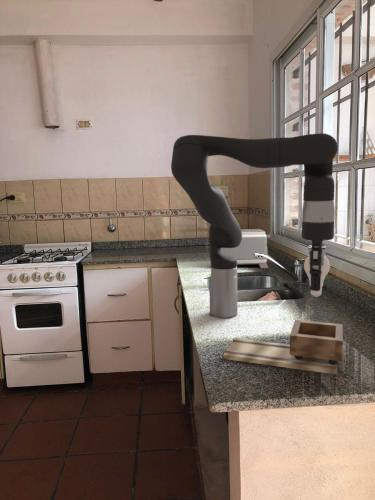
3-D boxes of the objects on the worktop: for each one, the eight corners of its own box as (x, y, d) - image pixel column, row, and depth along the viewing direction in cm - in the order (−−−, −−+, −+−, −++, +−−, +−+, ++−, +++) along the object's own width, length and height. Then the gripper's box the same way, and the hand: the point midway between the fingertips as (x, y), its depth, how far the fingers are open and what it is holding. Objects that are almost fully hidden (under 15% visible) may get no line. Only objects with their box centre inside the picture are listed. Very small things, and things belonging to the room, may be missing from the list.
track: (223, 358, 102) (223, 353, 102) (234, 342, 113) (234, 336, 113) (337, 374, 92) (337, 368, 92) (337, 354, 103) (337, 348, 103)
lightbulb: (312, 301, 93) (313, 256, 91) (298, 294, 99) (299, 252, 97) (334, 298, 95) (335, 254, 93) (319, 292, 100) (320, 250, 99)
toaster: (273, 267, 218) (274, 231, 215) (213, 269, 218) (212, 233, 215) (266, 261, 237) (267, 228, 234) (211, 263, 237) (210, 230, 234)
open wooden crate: (289, 361, 96) (289, 335, 95) (294, 343, 107) (295, 319, 106) (341, 368, 91) (342, 341, 90) (341, 348, 102) (342, 324, 101)
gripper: (334, 222, 86) (331, 296, 88) (334, 217, 99) (332, 282, 102) (299, 222, 89) (297, 293, 91) (304, 217, 102) (302, 280, 104)
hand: (316, 287), depth 96 cm, fingers closed on lightbulb, 5 cm apart
